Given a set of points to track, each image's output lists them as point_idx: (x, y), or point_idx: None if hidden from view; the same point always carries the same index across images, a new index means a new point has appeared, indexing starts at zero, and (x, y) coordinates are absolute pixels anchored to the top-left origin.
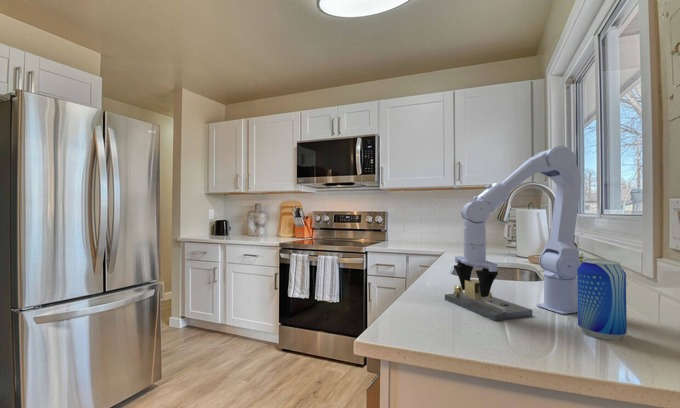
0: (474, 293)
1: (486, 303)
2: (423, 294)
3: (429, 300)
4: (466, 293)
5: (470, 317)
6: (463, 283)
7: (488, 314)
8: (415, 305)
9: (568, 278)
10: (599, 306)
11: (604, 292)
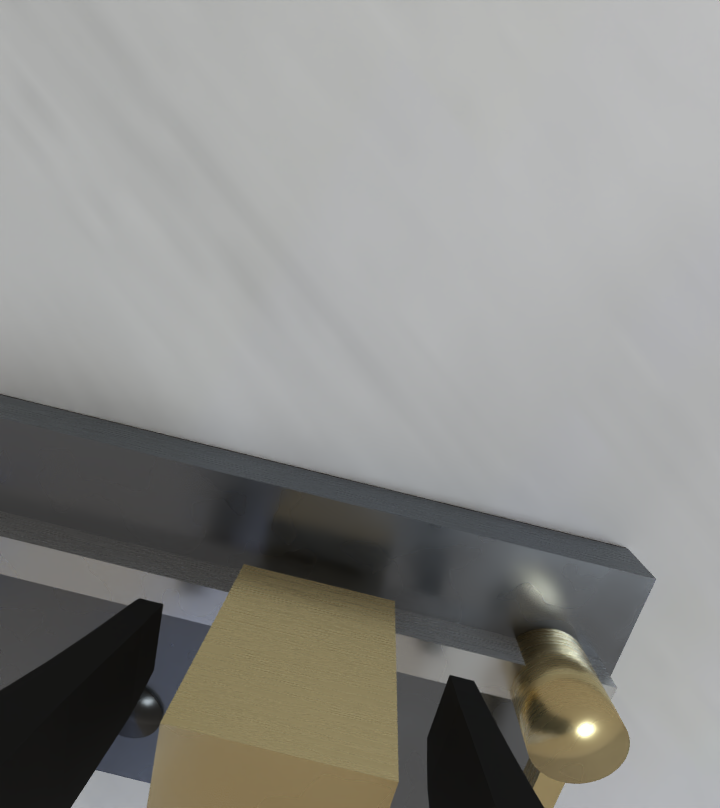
0: (225, 604)
1: (133, 564)
2: None
3: (715, 403)
4: (367, 615)
5: (142, 302)
6: (463, 756)
7: (40, 417)
8: (709, 116)
9: None
10: None
11: None
